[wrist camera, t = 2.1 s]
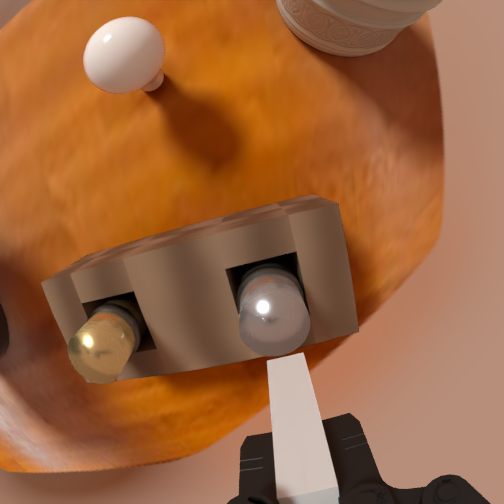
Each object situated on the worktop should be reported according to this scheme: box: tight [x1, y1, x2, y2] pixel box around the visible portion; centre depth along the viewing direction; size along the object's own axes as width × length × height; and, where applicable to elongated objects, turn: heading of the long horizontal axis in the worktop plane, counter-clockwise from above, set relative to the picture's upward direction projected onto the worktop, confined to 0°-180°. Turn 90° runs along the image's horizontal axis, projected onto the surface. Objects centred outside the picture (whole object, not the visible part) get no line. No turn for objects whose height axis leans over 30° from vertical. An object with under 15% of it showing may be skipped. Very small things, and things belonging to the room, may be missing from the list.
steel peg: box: [237, 257, 310, 356], centre depth 21 cm, size 4×4×8 cm
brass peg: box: [67, 291, 148, 384], centre depth 22 cm, size 4×4×8 cm
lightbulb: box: [83, 17, 165, 94], centre depth 21 cm, size 6×6×11 cm
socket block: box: [41, 194, 359, 383], centre depth 27 cm, size 24×10×9 cm, turn 104°
